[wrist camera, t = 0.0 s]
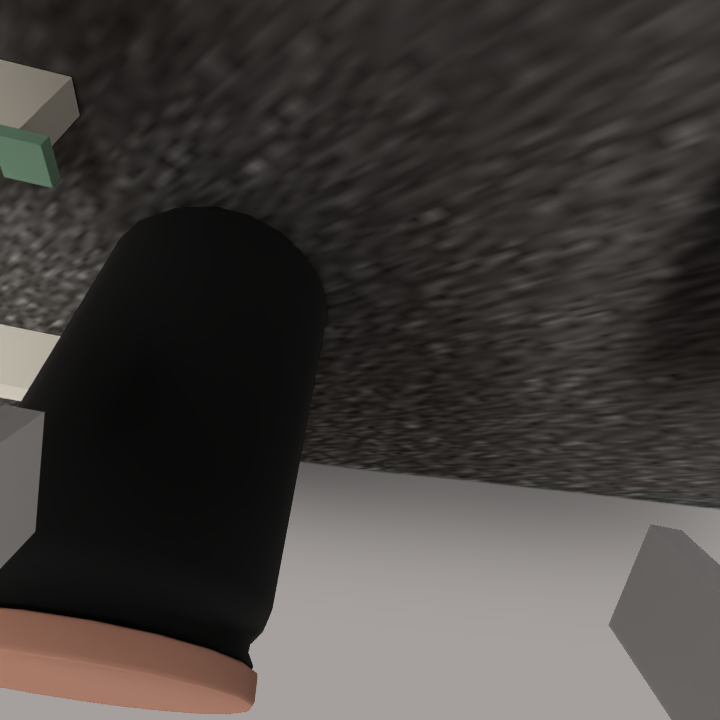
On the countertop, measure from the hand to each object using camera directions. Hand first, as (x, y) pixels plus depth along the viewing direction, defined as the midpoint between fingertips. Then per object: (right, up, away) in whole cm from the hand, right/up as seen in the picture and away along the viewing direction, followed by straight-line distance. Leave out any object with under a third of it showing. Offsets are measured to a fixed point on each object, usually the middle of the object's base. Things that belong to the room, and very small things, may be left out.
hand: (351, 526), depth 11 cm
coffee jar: (-7, +8, +16) cm, 19 cm away
